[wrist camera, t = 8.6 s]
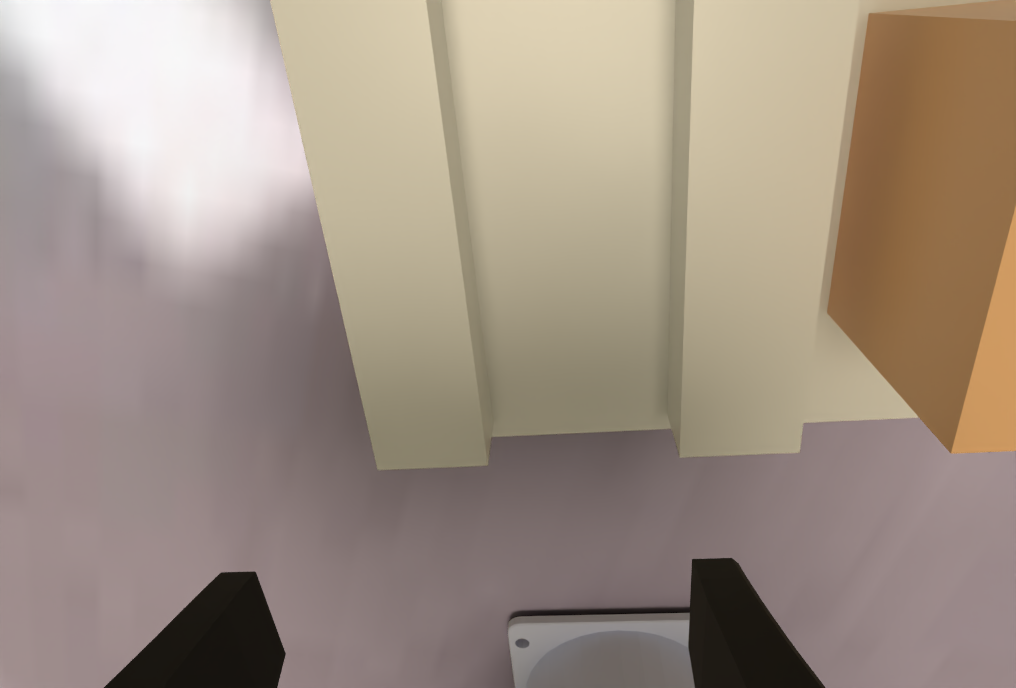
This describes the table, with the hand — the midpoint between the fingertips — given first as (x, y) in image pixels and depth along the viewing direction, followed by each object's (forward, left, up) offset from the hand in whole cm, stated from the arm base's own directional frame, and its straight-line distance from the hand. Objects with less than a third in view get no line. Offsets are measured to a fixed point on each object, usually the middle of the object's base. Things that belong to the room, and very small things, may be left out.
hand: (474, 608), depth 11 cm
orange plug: (+4, -10, -8) cm, 14 cm away
